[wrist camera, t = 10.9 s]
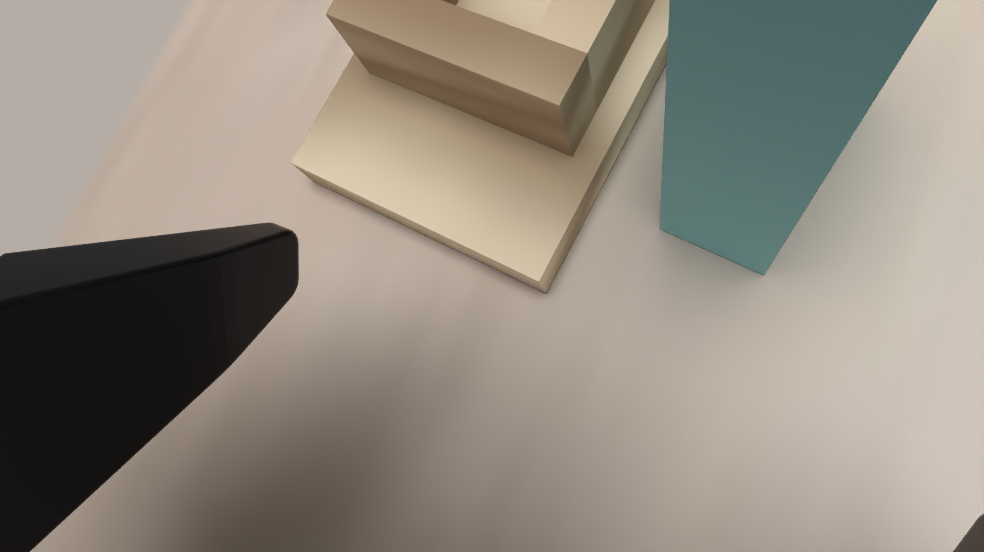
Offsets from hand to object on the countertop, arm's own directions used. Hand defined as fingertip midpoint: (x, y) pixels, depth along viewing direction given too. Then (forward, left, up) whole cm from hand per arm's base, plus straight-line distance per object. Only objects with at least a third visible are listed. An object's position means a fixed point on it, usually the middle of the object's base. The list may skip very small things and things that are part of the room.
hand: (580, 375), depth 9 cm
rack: (+12, +2, -7) cm, 14 cm away
